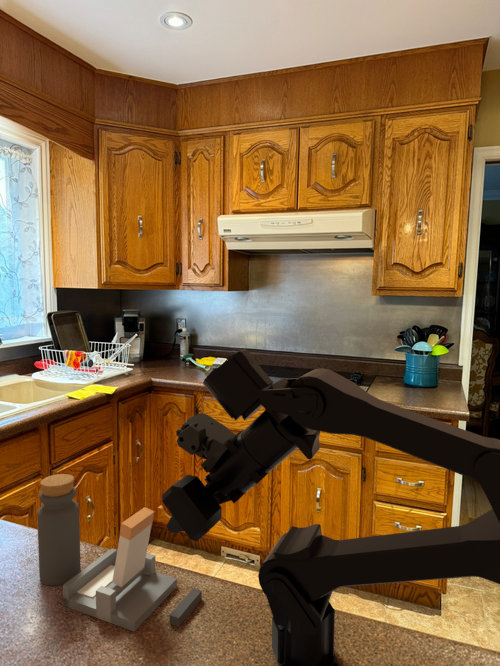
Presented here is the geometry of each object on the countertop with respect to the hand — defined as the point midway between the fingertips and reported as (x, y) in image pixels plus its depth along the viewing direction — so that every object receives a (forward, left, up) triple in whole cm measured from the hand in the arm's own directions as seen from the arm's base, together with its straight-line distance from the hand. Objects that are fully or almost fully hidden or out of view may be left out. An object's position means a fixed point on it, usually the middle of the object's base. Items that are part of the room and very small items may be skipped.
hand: (181, 518), depth 60 cm
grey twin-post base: (+7, -5, -14) cm, 16 cm away
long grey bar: (-1, -1, -14) cm, 14 cm away
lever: (+7, -5, -11) cm, 14 cm away
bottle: (+17, -13, -14) cm, 26 cm away
